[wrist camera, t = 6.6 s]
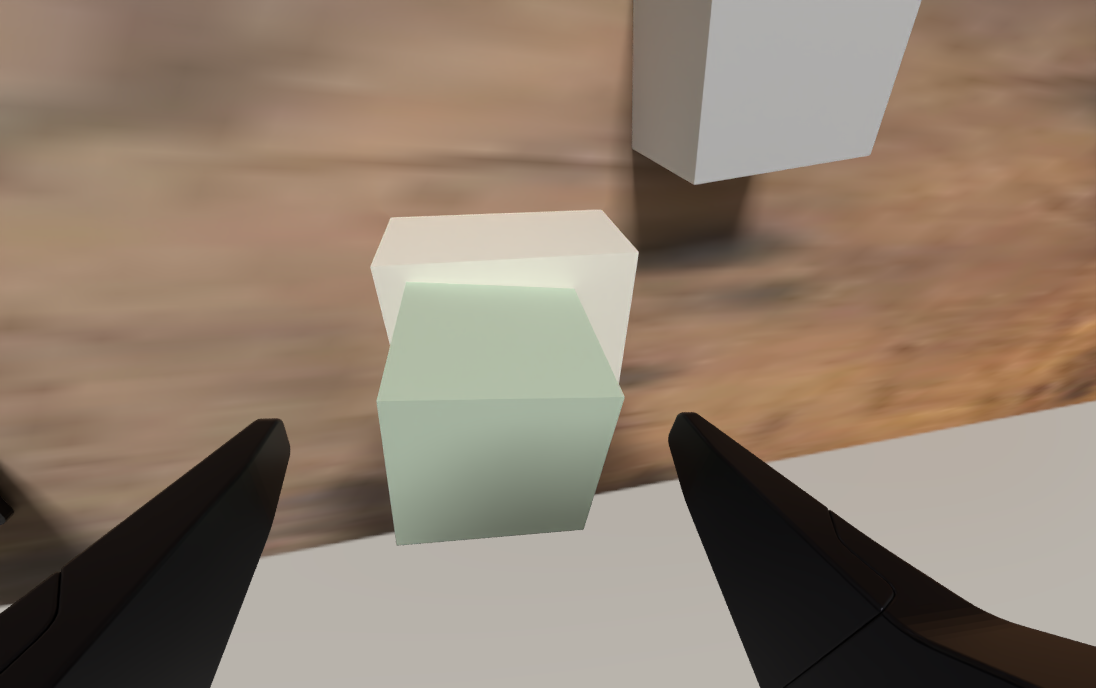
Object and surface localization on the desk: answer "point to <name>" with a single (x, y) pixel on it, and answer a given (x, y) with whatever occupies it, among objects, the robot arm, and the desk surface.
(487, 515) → the sage cube
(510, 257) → the cream block
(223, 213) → the desk surface
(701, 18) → the grey cube
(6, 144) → the desk surface
